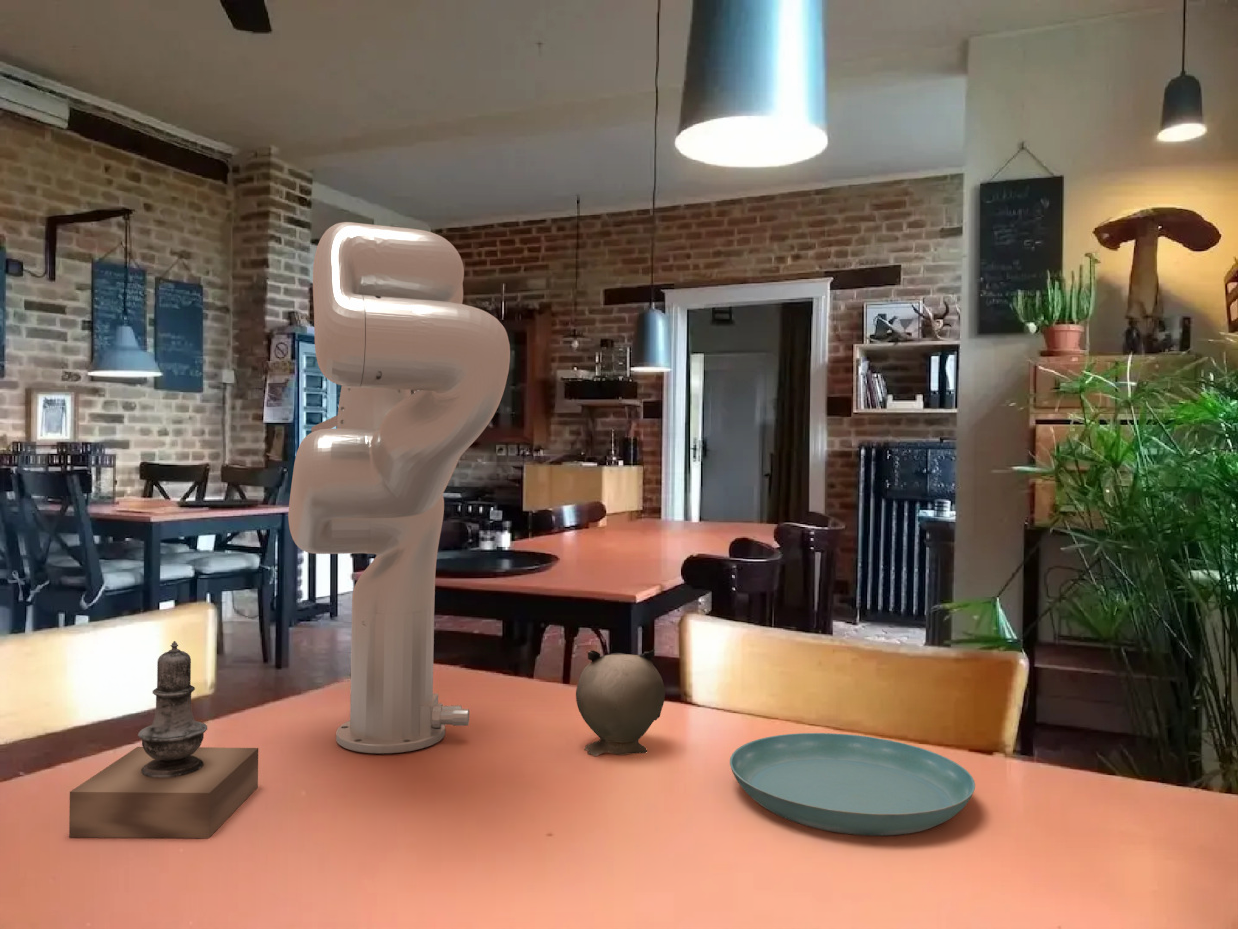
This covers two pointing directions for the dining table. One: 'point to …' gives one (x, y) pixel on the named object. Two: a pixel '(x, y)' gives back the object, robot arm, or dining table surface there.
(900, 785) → the teal plate
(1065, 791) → the dining table surface
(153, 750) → the salt shaker
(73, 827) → the brown flat wooden block
